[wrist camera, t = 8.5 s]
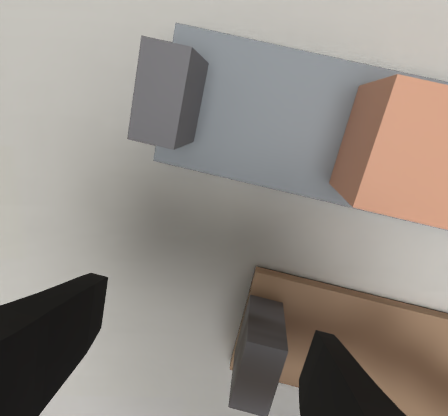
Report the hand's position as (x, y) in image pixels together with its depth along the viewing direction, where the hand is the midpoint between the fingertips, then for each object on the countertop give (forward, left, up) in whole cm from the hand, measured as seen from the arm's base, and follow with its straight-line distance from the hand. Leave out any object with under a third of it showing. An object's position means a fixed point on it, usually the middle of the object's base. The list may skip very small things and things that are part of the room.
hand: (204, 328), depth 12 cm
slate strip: (+7, -3, -9) cm, 12 cm away
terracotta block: (+7, -7, -8) cm, 13 cm away
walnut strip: (-5, -10, -9) cm, 15 cm away
